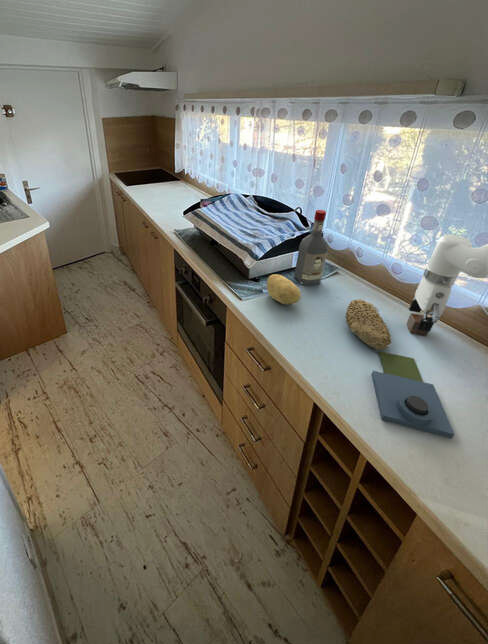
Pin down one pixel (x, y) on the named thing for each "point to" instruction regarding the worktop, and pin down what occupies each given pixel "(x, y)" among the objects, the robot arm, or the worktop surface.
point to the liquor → (312, 253)
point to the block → (415, 324)
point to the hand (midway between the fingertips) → (418, 320)
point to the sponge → (368, 324)
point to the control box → (394, 409)
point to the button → (417, 405)
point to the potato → (283, 289)
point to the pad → (400, 366)
